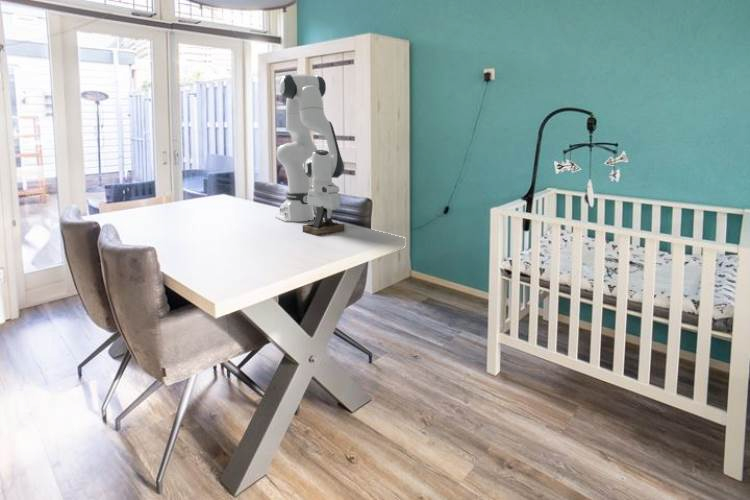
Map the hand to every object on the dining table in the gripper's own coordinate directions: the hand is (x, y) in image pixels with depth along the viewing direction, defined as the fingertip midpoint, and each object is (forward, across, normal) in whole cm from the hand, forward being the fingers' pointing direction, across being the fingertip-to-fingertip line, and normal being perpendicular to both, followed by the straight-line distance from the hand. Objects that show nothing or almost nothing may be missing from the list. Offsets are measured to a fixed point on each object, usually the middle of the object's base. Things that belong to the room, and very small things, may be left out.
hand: (323, 217), depth 240 cm
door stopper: (+6, 0, 0) cm, 6 cm away
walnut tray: (+7, 0, 0) cm, 7 cm away
